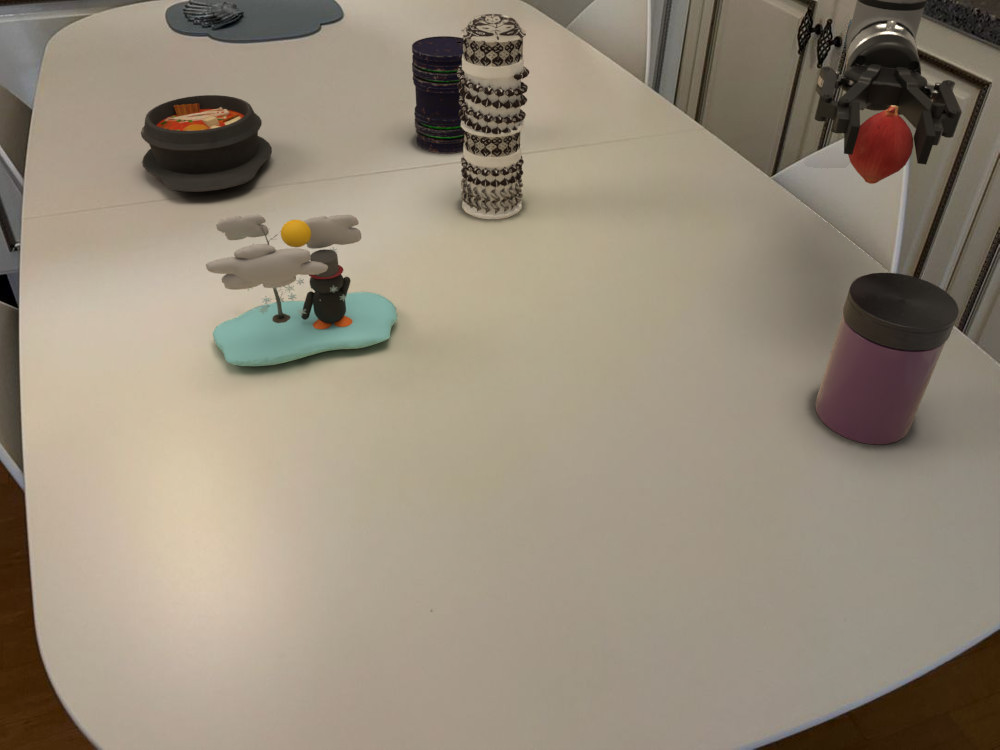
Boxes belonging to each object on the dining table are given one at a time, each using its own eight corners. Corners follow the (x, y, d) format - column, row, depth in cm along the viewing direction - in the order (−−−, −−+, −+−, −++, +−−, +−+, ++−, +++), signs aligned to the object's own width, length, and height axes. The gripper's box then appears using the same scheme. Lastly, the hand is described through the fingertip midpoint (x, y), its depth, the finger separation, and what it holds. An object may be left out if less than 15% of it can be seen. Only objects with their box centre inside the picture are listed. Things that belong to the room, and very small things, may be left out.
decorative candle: (501, 185, 125) (504, 5, 109) (537, 210, 119) (545, 23, 103) (447, 200, 121) (442, 15, 106) (481, 226, 115) (481, 34, 99)
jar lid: (945, 304, 81) (953, 282, 79) (954, 359, 74) (964, 336, 72) (842, 286, 83) (849, 265, 81) (842, 339, 76) (849, 316, 74)
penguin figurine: (390, 299, 100) (381, 179, 91) (408, 351, 92) (400, 226, 83) (214, 324, 96) (185, 201, 86) (216, 381, 88) (185, 252, 78)
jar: (907, 396, 87) (950, 288, 79) (912, 453, 81) (960, 341, 73) (816, 378, 89) (848, 271, 81) (813, 433, 83) (849, 322, 75)
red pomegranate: (828, 173, 87) (848, 96, 83) (875, 167, 89) (898, 91, 84) (862, 198, 83) (886, 118, 78) (912, 191, 84) (939, 112, 80)
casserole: (146, 141, 136) (132, 89, 131) (265, 129, 140) (257, 78, 135) (144, 211, 117) (128, 153, 112) (282, 194, 121) (273, 138, 116)
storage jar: (439, 158, 132) (436, 60, 123) (403, 138, 138) (398, 43, 129) (489, 143, 137) (490, 47, 128) (453, 124, 143) (451, 32, 134)
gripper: (803, 23, 96) (792, 92, 78) (984, 41, 91) (1016, 118, 74) (788, 90, 100) (775, 168, 83) (960, 110, 96) (985, 197, 78)
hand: (888, 144), depth 78 cm, fingers closed on red pomegranate, 6 cm apart
